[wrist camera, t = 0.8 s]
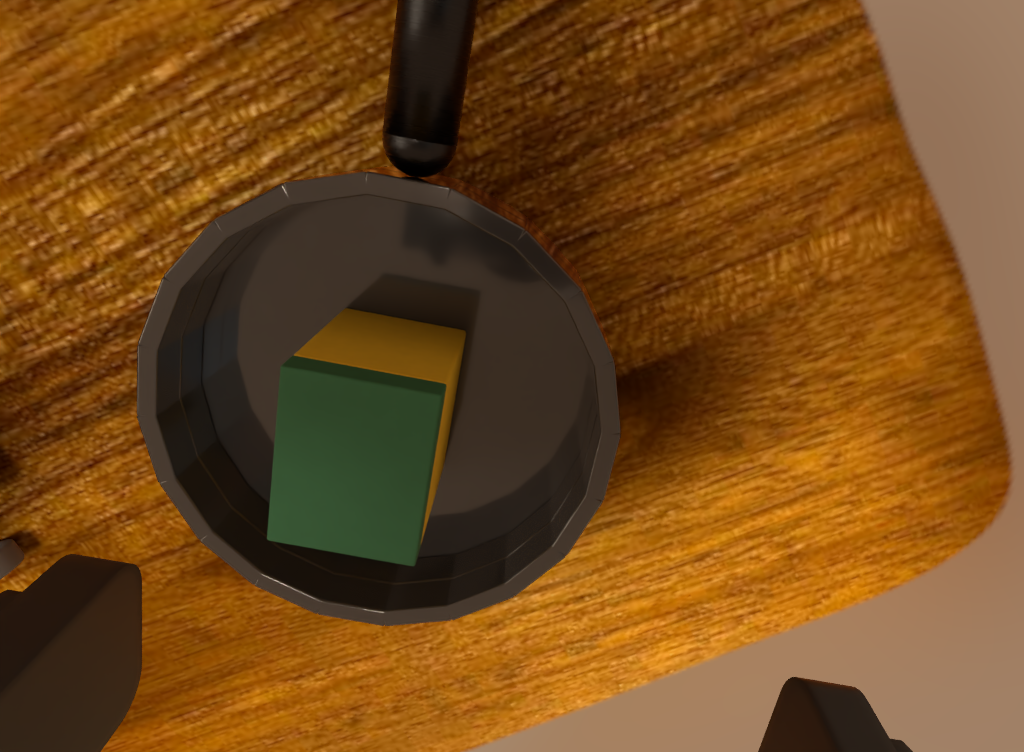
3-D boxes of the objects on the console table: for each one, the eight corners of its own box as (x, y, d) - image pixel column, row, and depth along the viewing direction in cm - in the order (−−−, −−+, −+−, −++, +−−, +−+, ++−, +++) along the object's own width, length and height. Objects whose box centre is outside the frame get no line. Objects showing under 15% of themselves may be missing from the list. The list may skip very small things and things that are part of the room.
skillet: (199, 127, 22) (137, 127, 18) (653, 215, 22) (673, 230, 19) (185, 526, 26) (134, 582, 23) (560, 593, 27) (563, 658, 23)
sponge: (344, 307, 23) (280, 365, 17) (467, 329, 23) (442, 395, 17) (329, 445, 24) (266, 541, 19) (443, 466, 24) (414, 567, 19)
